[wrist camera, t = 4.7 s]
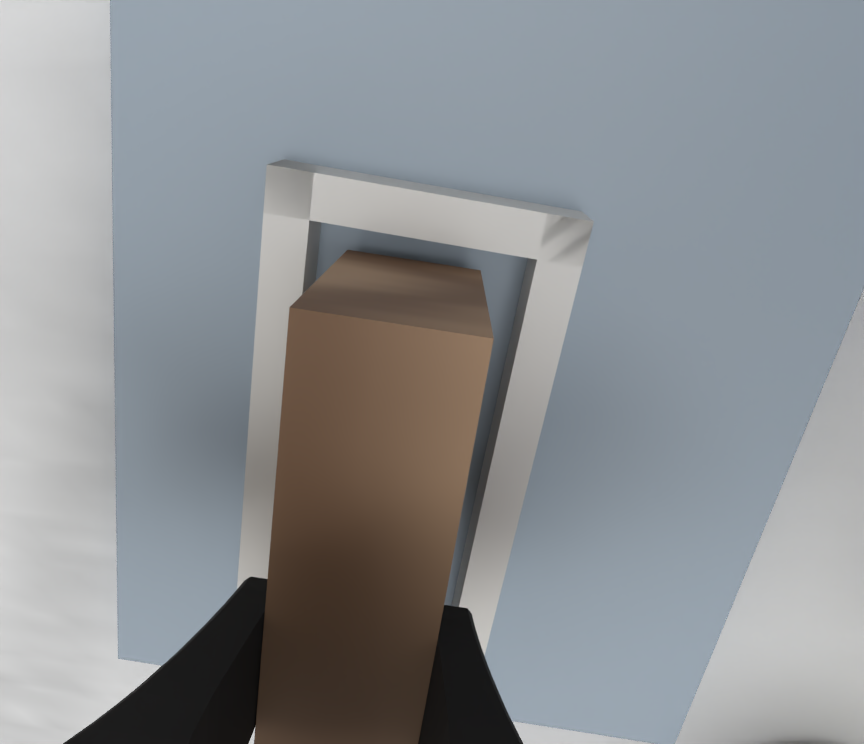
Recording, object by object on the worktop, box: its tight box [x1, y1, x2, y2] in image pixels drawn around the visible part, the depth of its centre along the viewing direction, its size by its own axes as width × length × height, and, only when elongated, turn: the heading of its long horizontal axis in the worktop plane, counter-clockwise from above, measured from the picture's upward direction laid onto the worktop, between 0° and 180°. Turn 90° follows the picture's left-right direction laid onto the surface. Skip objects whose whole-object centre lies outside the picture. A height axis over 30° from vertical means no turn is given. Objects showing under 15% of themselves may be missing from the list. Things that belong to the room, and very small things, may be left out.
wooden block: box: [254, 250, 494, 744], centre depth 14 cm, size 3×12×6 cm, turn 172°
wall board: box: [110, 0, 864, 744], centre depth 16 cm, size 18×30×2 cm, turn 171°
